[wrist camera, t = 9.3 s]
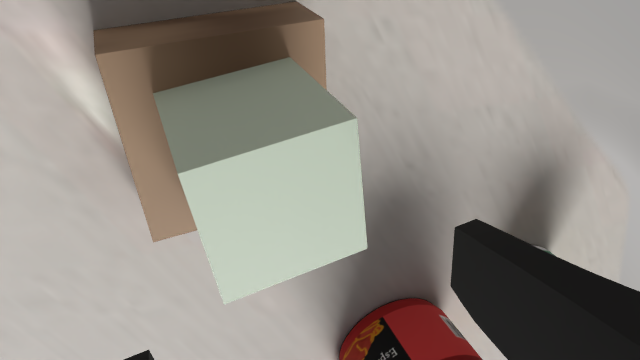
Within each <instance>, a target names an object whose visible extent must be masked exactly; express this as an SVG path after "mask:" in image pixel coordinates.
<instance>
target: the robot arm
mask: <svg viewBox="0 0 640 360" xmlns="http://www.w3.org/2000/svg"><path fill="white" fill-rule="evenodd" d="M451 287H452V289H453V290H454V292H455V293H456V295H457V296H458V298H459V299H460V301H461V303H462V304H463V306H464V307H465V308H466V310H467V311H468V313H469V314H470V315H471V317H472V318H473V320H474V321H475V322H476V324H477V325H478V326H479V327H480V328H481V329H482V331H483V332H484V333H485V334H486V335H487V336H488V338H489V339H490V340H491V341H492V342H493V343H494V344H495V346H496V347H497V348H498V349H499V350H500V351H501V352H502V354H503V355H504V356H505V357H506V358H507V359H508V360H640V292H639V291H636V290H634V289H631V288H629V287H626V286H624V285H621V284H619V283H616V282H614V281H611V280H609V279H606V278H604V277H602V276H599V275H597V274H594V273H592V272H590V271H587V270H585V269H583V268H580V267H578V266H576V265H574V264H571V263H569V262H567V261H565V260H563V259H560V258H558V257H556V256H554V255H552V254H550V253H547V252H545V251H543V250H541V249H539V248H537V247H535V246H533V245H531V244H528V243H526V242H524V241H522V240H520V239H518V238H516V237H514V236H512V235H510V234H508V233H506V232H503V231H501V230H499V229H497V228H495V227H493V226H491V225H489V224H487V223H484V222H482V221H480V220H478V219H475V220H472V221H470V222H467V223H465V224H462V225H460V226H457V227H455V232H454V246H453V260H452V274H451ZM124 360H154V358H153V356H152V355H151V353H150V351H149V350H147V351H144V352H142V353H139V354H137V355H134V356H132V357H129V358H127V359H124Z"/></svg>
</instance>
